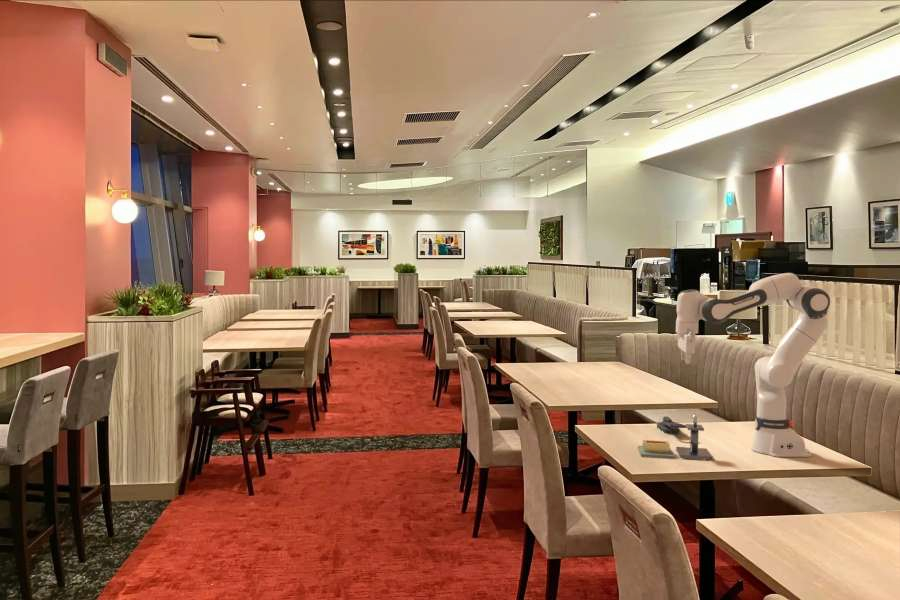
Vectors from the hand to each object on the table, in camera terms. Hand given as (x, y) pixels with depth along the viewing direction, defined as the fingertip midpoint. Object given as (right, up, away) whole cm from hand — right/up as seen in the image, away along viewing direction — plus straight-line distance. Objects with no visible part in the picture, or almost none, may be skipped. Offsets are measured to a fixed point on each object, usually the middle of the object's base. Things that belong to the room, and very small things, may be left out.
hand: (685, 361), depth 284 cm
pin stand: (+1, -38, -6) cm, 38 cm away
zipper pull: (+4, -36, +30) cm, 47 cm away
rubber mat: (-14, -37, -4) cm, 40 cm away
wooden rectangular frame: (-14, -36, -4) cm, 39 cm away
